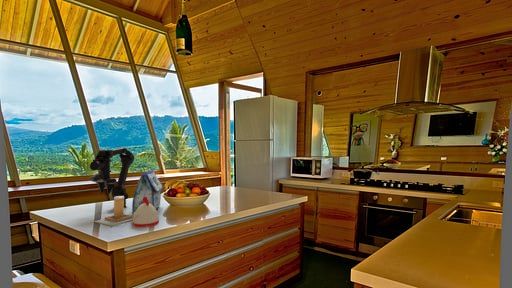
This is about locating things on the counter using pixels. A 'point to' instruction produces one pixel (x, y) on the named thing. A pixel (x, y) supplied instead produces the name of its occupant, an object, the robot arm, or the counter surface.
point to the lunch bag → (147, 190)
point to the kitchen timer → (145, 215)
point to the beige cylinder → (118, 207)
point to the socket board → (115, 220)
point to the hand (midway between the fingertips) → (105, 193)
